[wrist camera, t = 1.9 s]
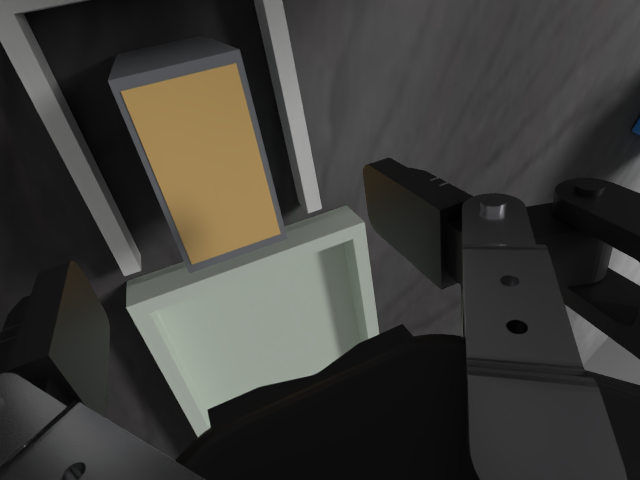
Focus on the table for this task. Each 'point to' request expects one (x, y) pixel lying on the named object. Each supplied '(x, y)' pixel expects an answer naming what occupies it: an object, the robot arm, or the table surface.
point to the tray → (258, 313)
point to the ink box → (637, 127)
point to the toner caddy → (200, 146)
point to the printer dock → (32, 68)
